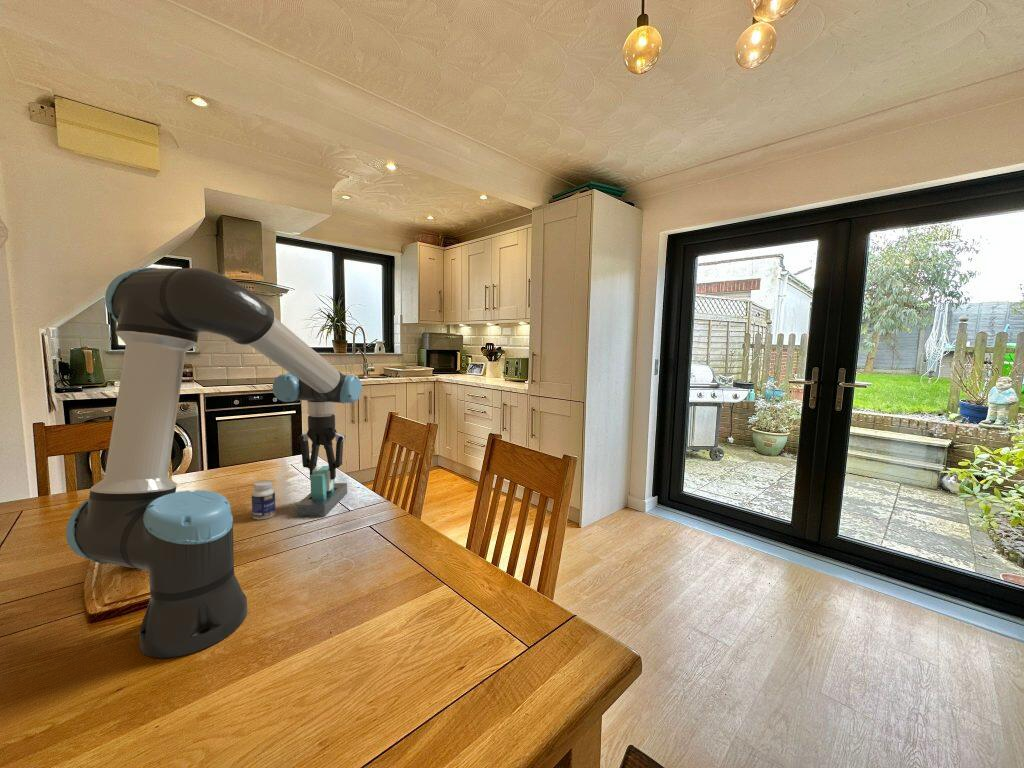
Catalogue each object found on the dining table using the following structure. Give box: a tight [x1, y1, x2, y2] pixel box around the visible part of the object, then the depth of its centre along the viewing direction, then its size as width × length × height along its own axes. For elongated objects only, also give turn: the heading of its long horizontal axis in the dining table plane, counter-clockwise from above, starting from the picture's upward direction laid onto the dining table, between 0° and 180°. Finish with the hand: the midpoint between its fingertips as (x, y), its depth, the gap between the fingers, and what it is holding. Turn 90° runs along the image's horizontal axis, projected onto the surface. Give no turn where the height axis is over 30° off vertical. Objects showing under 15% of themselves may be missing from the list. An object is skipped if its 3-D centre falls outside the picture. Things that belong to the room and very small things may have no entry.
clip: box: [309, 465, 336, 499], centre depth 125 cm, size 9×4×9 cm, turn 2°
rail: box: [295, 482, 348, 518], centre depth 126 cm, size 18×8×4 cm, turn 2°
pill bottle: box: [251, 479, 276, 520], centre depth 116 cm, size 6×6×10 cm
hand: (323, 489), depth 126 cm, fingers closed on clip, 3 cm apart
